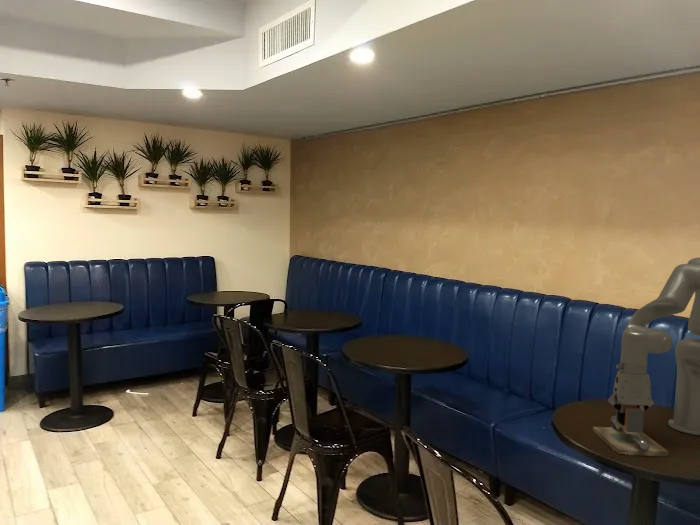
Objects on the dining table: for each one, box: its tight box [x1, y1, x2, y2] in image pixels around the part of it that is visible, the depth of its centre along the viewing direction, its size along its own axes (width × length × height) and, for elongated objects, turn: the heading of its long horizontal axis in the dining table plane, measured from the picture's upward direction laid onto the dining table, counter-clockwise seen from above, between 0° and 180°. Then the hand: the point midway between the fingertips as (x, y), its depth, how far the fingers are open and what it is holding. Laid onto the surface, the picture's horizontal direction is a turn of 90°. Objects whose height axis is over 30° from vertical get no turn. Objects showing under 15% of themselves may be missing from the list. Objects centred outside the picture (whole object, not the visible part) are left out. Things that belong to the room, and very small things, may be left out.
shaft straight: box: [633, 436, 650, 451], centre depth 161 cm, size 2×5×2 cm, turn 178°
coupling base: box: [592, 421, 669, 457], centre depth 169 cm, size 15×18×3 cm
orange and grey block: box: [615, 401, 645, 433], centre depth 168 cm, size 8×4×7 cm, turn 178°
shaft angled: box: [610, 415, 624, 431], centre depth 176 cm, size 2×5×4 cm, turn 178°
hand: (629, 423), depth 168 cm, fingers closed on orange and grey block, 4 cm apart
